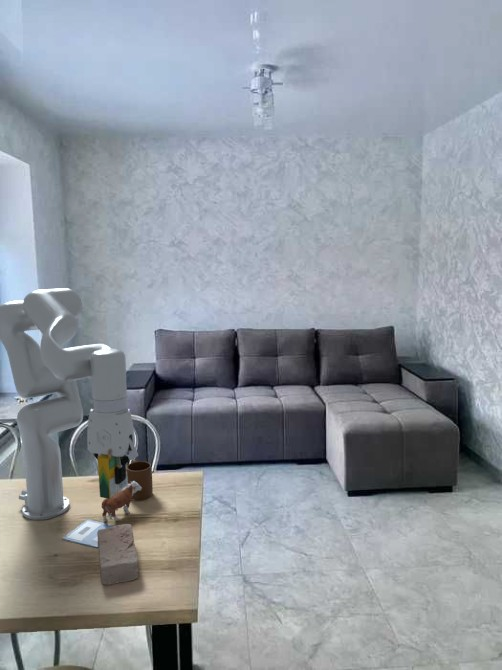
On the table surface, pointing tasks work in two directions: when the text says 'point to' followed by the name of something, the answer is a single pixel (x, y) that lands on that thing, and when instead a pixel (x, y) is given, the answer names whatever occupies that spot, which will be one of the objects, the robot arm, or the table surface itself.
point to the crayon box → (109, 476)
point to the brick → (117, 554)
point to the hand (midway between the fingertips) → (113, 479)
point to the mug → (140, 478)
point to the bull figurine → (119, 501)
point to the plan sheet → (86, 533)
